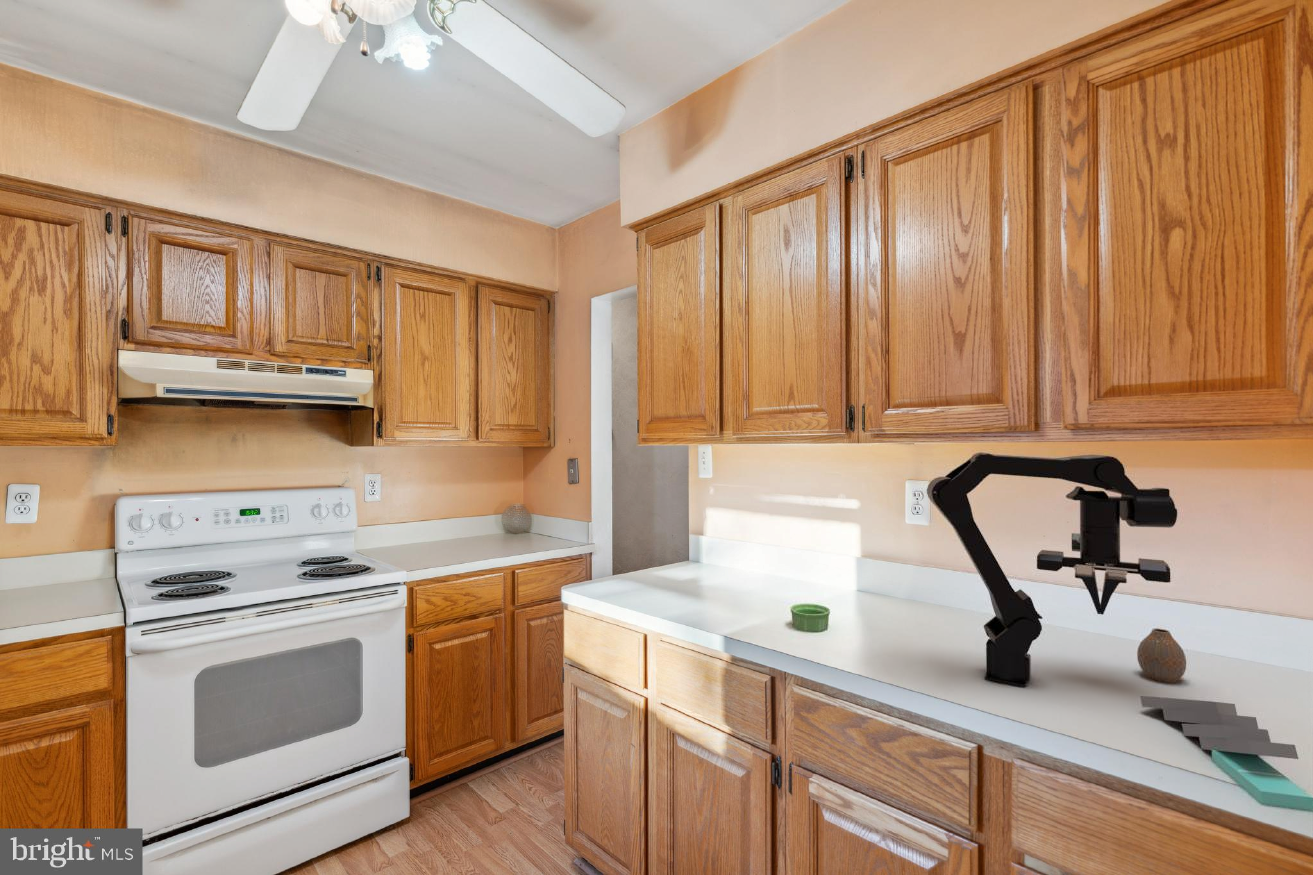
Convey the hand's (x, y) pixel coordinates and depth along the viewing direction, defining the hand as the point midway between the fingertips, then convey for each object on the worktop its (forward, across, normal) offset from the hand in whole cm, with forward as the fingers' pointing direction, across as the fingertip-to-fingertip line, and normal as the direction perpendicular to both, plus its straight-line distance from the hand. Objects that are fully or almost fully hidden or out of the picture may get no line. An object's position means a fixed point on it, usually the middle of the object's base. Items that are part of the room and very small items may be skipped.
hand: (1100, 613), depth 107 cm
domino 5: (+12, -14, +20) cm, 28 cm away
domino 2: (+12, -10, +9) cm, 18 cm away
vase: (+13, -9, -11) cm, 19 cm away
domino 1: (+12, -6, +7) cm, 15 cm away
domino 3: (+12, -12, +13) cm, 22 cm away
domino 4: (+12, -14, +17) cm, 25 cm away
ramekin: (+13, +55, -3) cm, 57 cm away
